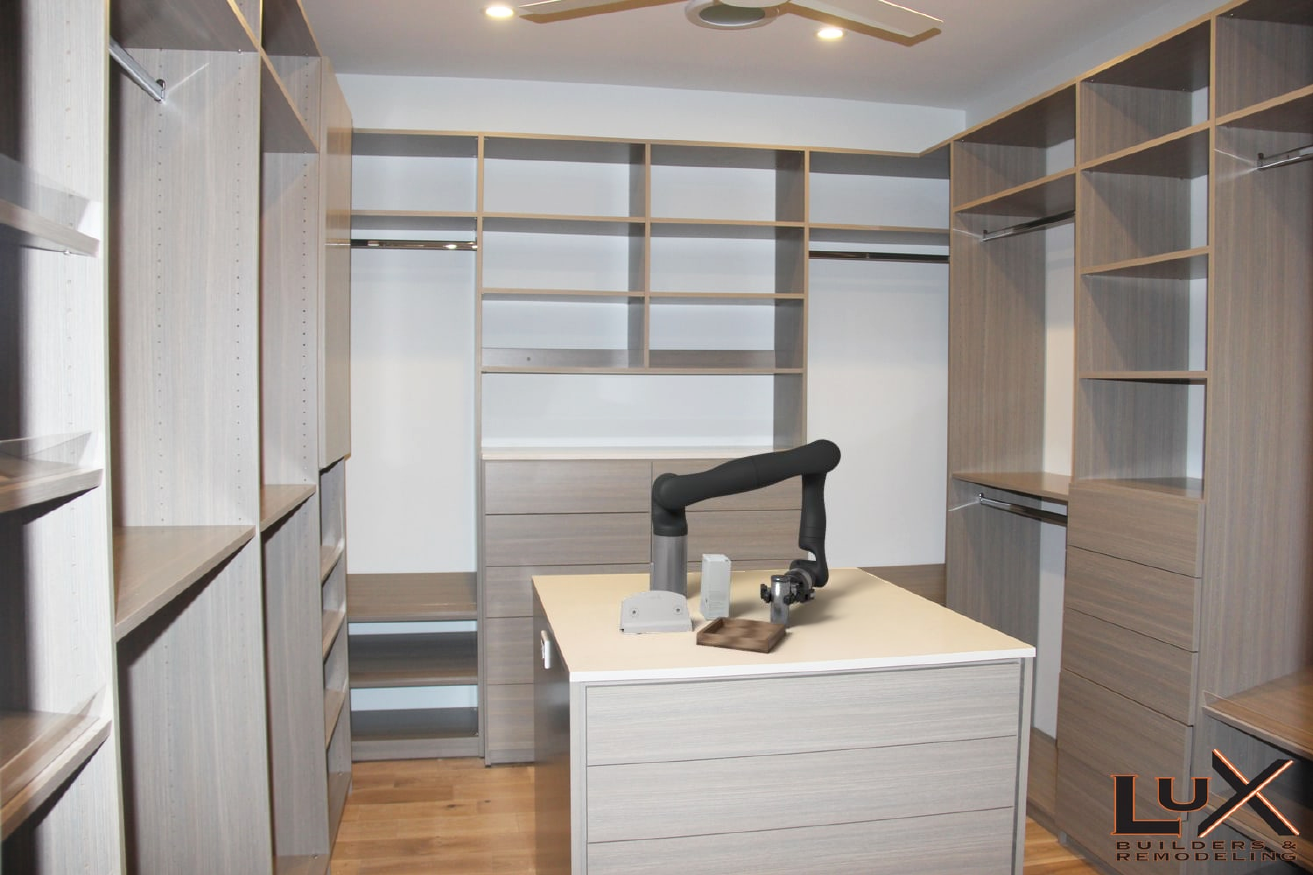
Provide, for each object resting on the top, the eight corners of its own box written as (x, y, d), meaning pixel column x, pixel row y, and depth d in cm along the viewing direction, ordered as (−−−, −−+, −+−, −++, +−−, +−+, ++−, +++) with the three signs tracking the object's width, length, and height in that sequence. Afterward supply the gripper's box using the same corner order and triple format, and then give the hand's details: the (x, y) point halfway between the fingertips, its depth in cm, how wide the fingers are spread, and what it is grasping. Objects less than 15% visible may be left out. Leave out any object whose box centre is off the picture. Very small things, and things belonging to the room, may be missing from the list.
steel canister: (767, 628, 212) (768, 577, 212) (772, 623, 216) (773, 573, 216) (786, 630, 210) (787, 579, 210) (791, 625, 215) (792, 575, 214)
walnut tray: (696, 644, 198) (696, 633, 198) (719, 626, 213) (719, 616, 213) (767, 653, 192) (767, 641, 192) (785, 634, 207) (785, 623, 207)
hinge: (622, 635, 205) (620, 590, 208) (619, 636, 209) (616, 593, 212) (694, 631, 209) (690, 587, 211) (689, 633, 213) (685, 590, 216)
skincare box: (699, 612, 226) (700, 553, 225) (722, 611, 227) (723, 553, 226) (706, 621, 218) (707, 559, 217) (730, 620, 219) (732, 559, 218)
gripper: (766, 568, 229) (747, 581, 213) (823, 573, 223) (808, 587, 208) (766, 597, 229) (747, 612, 213) (822, 603, 224) (807, 619, 208)
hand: (777, 599), depth 211 cm, fingers closed on steel canister, 4 cm apart
